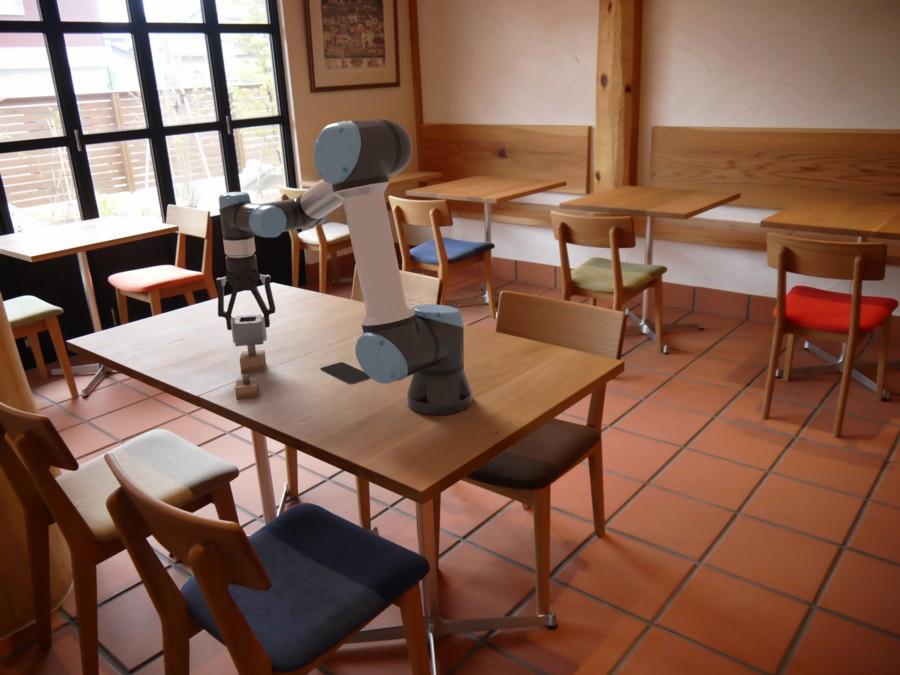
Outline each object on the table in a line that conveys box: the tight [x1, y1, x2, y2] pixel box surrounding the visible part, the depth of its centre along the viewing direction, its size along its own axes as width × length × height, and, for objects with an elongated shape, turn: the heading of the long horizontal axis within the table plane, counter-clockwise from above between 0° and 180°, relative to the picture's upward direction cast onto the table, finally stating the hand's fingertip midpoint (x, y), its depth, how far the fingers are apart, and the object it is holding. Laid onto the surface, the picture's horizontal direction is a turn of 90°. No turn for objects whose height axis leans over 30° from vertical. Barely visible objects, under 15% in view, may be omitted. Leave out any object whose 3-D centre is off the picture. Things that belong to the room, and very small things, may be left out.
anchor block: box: [234, 373, 260, 400], centre depth 180 cm, size 5×5×5 cm
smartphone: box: [320, 361, 371, 385], centre depth 193 cm, size 7×1×15 cm
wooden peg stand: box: [239, 345, 267, 375], centre depth 196 cm, size 6×6×11 cm
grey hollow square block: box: [233, 314, 265, 347], centre depth 194 cm, size 7×7×6 cm
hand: (250, 340), depth 195 cm, fingers closed on grey hollow square block, 7 cm apart
